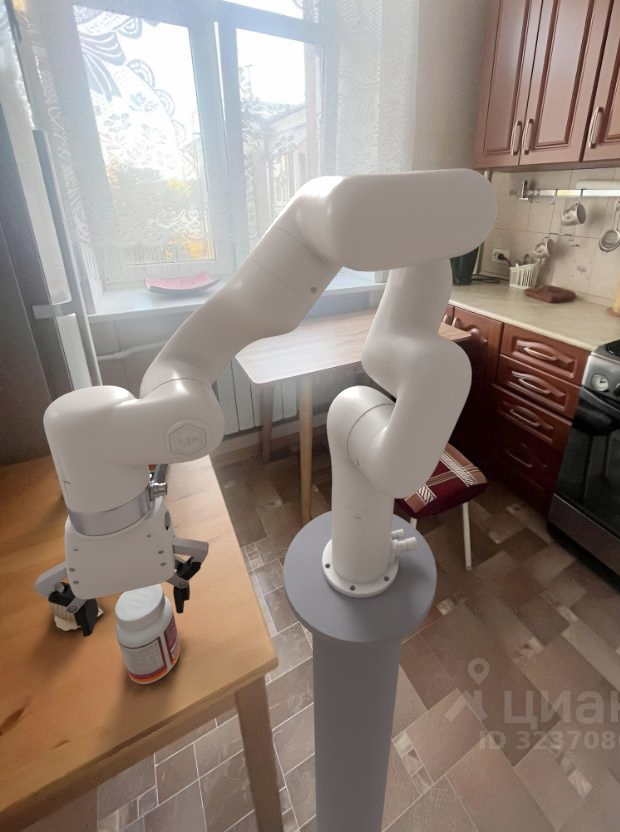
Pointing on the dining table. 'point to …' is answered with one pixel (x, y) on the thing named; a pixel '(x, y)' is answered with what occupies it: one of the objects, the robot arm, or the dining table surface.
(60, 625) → the decorative ornament
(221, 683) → the dining table surface
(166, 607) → the pill bottle
